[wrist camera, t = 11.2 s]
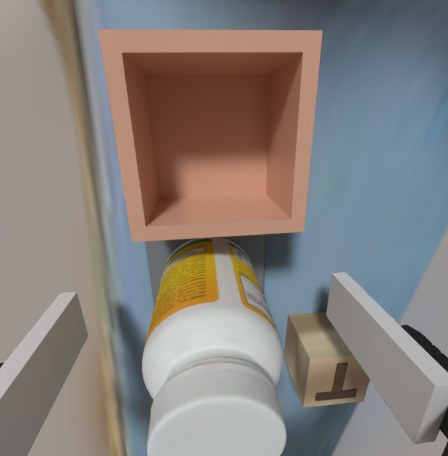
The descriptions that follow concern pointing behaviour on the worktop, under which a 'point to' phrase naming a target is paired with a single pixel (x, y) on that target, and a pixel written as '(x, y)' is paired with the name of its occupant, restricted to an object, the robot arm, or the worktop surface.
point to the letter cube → (322, 362)
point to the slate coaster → (164, 248)
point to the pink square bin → (213, 128)
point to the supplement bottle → (212, 357)
